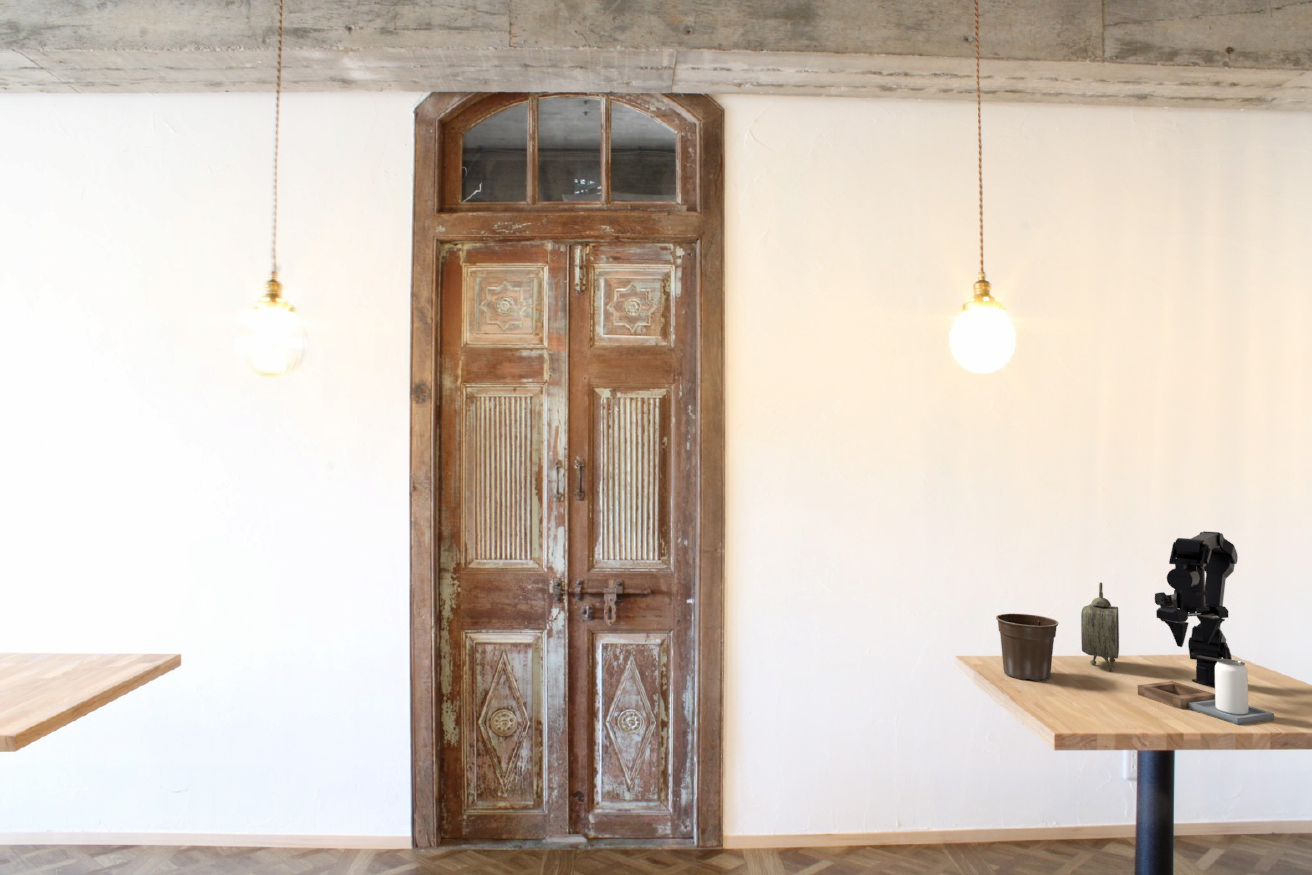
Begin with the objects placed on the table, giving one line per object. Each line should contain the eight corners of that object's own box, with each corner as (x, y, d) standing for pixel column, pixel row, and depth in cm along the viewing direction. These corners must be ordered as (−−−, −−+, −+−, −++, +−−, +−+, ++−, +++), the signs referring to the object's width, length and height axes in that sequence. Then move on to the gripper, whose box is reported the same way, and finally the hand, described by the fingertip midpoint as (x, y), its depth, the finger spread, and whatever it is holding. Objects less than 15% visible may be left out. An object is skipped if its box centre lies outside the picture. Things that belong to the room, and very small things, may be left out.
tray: (1223, 703, 196) (1223, 698, 196) (1274, 719, 185) (1273, 713, 185) (1188, 708, 193) (1188, 702, 193) (1237, 724, 181) (1237, 718, 181)
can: (1254, 716, 185) (1253, 666, 185) (1223, 714, 186) (1222, 664, 187) (1239, 707, 191) (1238, 659, 192) (1210, 706, 193) (1209, 657, 193)
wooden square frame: (1172, 690, 207) (1171, 681, 208) (1216, 704, 196) (1216, 694, 196) (1137, 694, 204) (1137, 685, 204) (1180, 708, 192) (1180, 698, 192)
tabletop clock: (1117, 674, 223) (1115, 587, 223) (1081, 669, 228) (1080, 584, 228) (1119, 662, 235) (1117, 580, 236) (1085, 658, 240) (1084, 578, 241)
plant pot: (1070, 677, 220) (1069, 620, 220) (1039, 687, 211) (1038, 627, 211) (1016, 664, 233) (1015, 611, 234) (985, 673, 224) (984, 617, 225)
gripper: (1189, 579, 215) (1190, 635, 214) (1137, 583, 209) (1138, 640, 209) (1229, 586, 204) (1230, 645, 204) (1176, 590, 199) (1177, 650, 198)
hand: (1192, 645), depth 204 cm, fingers open, 9 cm apart
